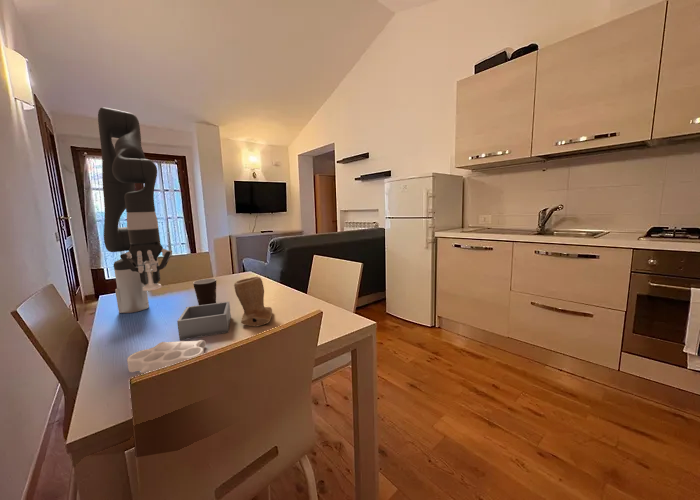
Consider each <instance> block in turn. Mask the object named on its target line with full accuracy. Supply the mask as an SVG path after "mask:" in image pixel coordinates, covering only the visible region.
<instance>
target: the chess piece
mask: <svg viewBox="0 0 700 500" xmlns="http://www.w3.org/2000/svg"><path fill="white" fill-rule="evenodd" d="M144 265H145V266H146V271H145V272H147V275H148V283H147V285H146V286H144V287H143V290H144V291H147V292H149V291H155V290H158V289H161V288H162V284H161V283H157V284H154V281H153V273H152V272H153V270H152V266H151V264H150V261H146V263H144Z"/></svg>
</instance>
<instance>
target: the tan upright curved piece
mask: <svg viewBox="0 0 700 500" xmlns="http://www.w3.org/2000/svg"><path fill="white" fill-rule="evenodd" d="M233 286H234V292H235V295H236V298H238V301H239V303H240V304H241V307H242V310H243V314H242V318H241V320H240V324H242V325H246V326H249V327H259V326H264V325H266V324H268V323H270V321H271V318H272V315H273V309H272V307H269V306H265V304H264V301H265V299H264V296H265V288H264V287H265V286H264V282H263V280H262V278H261V277H260V276H254V277H253V276H252V277H249V278H243V279H240V280H237V281H235V282H234V285H233Z"/></svg>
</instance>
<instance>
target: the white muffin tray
mask: <svg viewBox="0 0 700 500" xmlns="http://www.w3.org/2000/svg"><path fill="white" fill-rule="evenodd" d="M205 348H206V340H203V339H199V340H190V341H189V340H188V341H185V340H179V341H168V342H167V341H161V342H159V343H157V344H156V345H155V346H153V347H150V348H147V349H143V350H139V351H136V352H134V353H131V354H130V355H129V356H127V360H126V362H127V367H128V368H127V369H128V372H129V373H136V372H135V371H141V372H139V374H143V373H146V372H149V371H153V370H156V369H159V368H162V367H165V366H169V365H172V364H175V363H178V362H181V361H184V360H187V359H190V358H193V357H196V356H198V355H201V354H204V353H205V352H204V350H205ZM204 355H205V354H204Z"/></svg>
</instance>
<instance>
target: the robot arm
mask: <svg viewBox="0 0 700 500" xmlns="http://www.w3.org/2000/svg"><path fill="white" fill-rule="evenodd" d="M98 109H99V110H98V112H97V122H98V123H97V124H98V132H99V140H100V149H101V162H102V163H101V164H102V165H101V166H102V167H101V168H102V169H101V171H102V194H103V207H104V222H103V224H104V225H103V242H104V247H105V249H106V250H107V251H108V252H109V253H118V252H119V253H120V252H125V253H122V254H120V255H119V257H120V259H118V260H116V261H114V263H113V270H114V275H115V282H116V288H115V290H114V291H115V297H116V303H117V309H118V314H120V313H121V314H122V313H123V314H130V313H137V312H140V311H141V312H142V311H144V310H146V309H149V307H150V304H149V303H150V302H149V297H148V291H144V290H143V287H144V286H146V285H148V284H147V283H148V272H145V271H146V270H147V268H146V266H145V265H144V263H146V262H147V261H149V262H150V264H151V269H152V270H153V271H151V272H152V276H153V281H154V284H159V282H160V281H161V273H160V270H163V269H165V268H166V267H167V264H168V262H169V260H170V258H171V256H172V254H173V251H172V250H171V249H169V250H168V249H165V248H164V247H163V246H162V244H161V236H160V230H159V229H160V228H159V223H158V217H157V213H156V207H155V198H154V197H155V194H154V193H155V187H156V181H157V178H158V168H157V165H156V163H155V162H153V161H152V160H151V159H148V158H146V156H145V152H144V150H143V146H142V135H141V127H140V126H141V125H140V122H139V119H138V117H137V116H136V115H135V114H134V113H132V112H128V111H123V110H119V109H115V108H114V109H113V108H110V107H103V106H102V107H100V108H98ZM112 138H114V139H117V140H116V141H115V142H114V143H115V144H113V140H112ZM135 184H144V185H143V188H141V189H139V190H136V188H135V187H136V186H135ZM124 211H126V226H125V227H123V226H121V227H119V223H120V219H121V216H122V215H123V213H124ZM161 253H162V256H161V257H163V258H162V260H161V262H160V264H159V256H160V254H161Z"/></svg>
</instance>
